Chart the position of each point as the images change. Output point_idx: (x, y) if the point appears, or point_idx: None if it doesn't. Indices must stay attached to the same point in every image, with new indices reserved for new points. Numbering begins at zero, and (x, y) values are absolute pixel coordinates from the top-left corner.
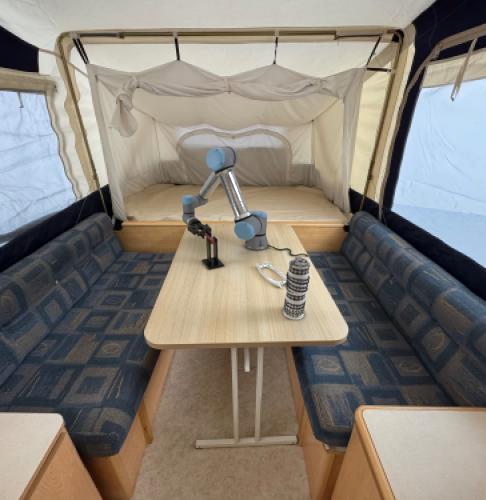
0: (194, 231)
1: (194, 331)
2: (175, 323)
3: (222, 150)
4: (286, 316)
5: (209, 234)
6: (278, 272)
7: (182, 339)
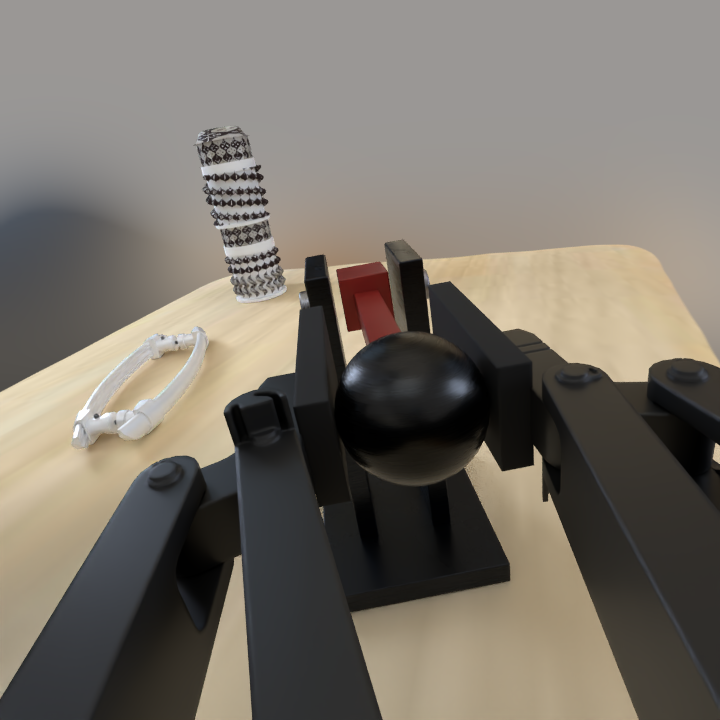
0: (680, 361)
1: (522, 260)
2: (582, 265)
3: None
4: (286, 287)
5: (330, 353)
6: (114, 384)
7: (550, 251)
